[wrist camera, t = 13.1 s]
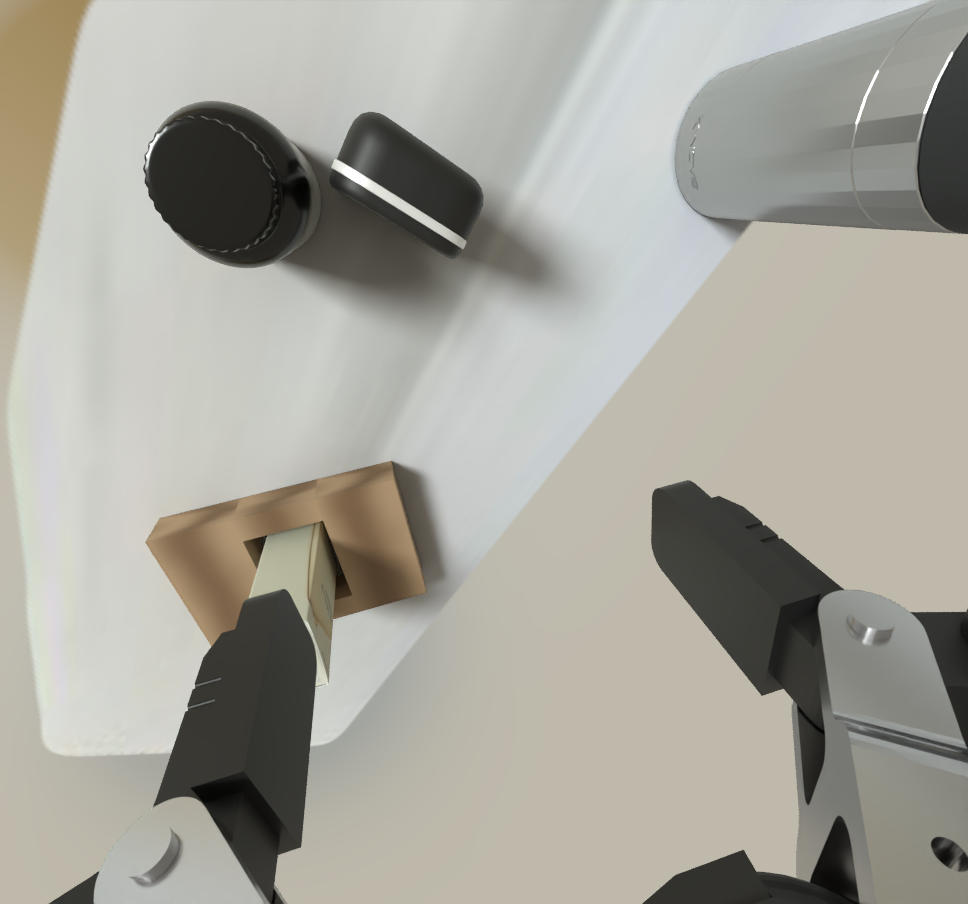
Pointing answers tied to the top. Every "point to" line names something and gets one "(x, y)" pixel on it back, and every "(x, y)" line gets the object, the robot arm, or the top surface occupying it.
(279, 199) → the supplement bottle
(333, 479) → the board
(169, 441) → the top surface
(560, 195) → the top surface
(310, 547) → the skincare box
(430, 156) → the battery charger
